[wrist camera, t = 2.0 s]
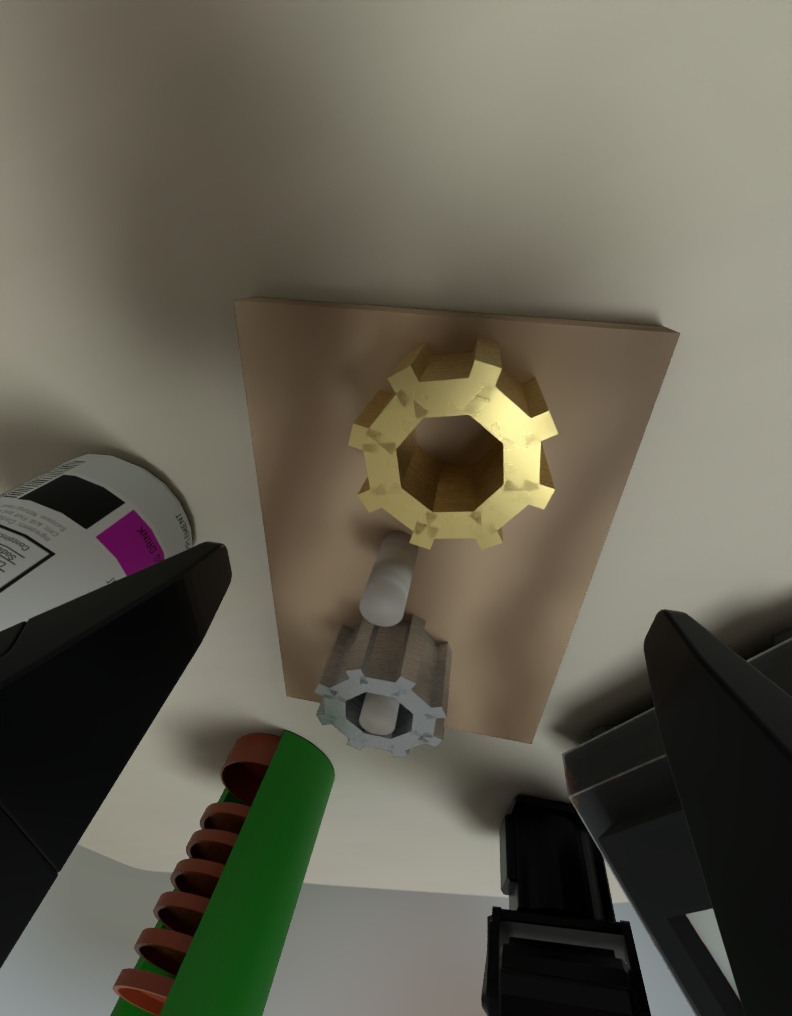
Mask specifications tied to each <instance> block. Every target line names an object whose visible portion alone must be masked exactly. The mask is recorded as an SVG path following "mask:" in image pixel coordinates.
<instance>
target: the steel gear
mask: <svg viewBox="0 0 792 1016" xmlns="http://www.w3.org/2000/svg"><path fill="white" fill-rule="evenodd" d="M425 625H426V620H424V619H422V618H420V617H418V616H416V615H414V614H413V615H412V616H411V618H410V619H409V620H404V619H402V620H401V621H400V622H399V623H397V624H395V625H393V626H388V627H383V626H378V625H375V624H372V623H370V622H369V621H367V620H366V619H365V618H364V617H363V620H362V622H361V623H359V624H357V625H355V626H354V627H352V628H350V627H348V626H346V625H344V624H342V626H341V628H340V629H339V631H338V633H337V635H336V638H335V640H334V643H333V646H332V648H331V651H330V653H329V656H328V658H327V661H326V664H325V666H324V669H323V671H322V674H321V676H320V679H319V681H318V684H317V687H316V689H315V693H317V694H319V695H321V696H323V698H322V700H321V703H320V706H319V709H318V711H317V714H316V716H317V717H318V719H319V720H320V722H321V723H322V725H325V724H332V725H333V726H334V727H336V728H337V729H338V730H339V731H341V732H342V733H343V734H344V735H346V736H347V737H348V742H347V744H348V745H350V746H353V747H355V748H357V749H359V750H361V748H362V747H363V746H369V747H374V748H379V749H383V750H388V751H391V752H392V754H393V756H394V757H408V754H409V749H411V748H414V747H416V746H419V745H422V744H425V743H427V744H429V745H431V746H433V747H436V746H437V745H438V744H439V743H440V742H441V741H442V740H443V731H444V720H445V718H447V708H448V696H449V684H450V672H451V660H452V650H451V648H450V645H449V643H448V642H442V643H438V642H437V641H436V640H435V639H434V638H433V637H432V636H431V635H430V634H429V633H428V632H427V631H426V630H425ZM366 692H368V693H373V694H378V695H384V696H389V697H394V698H395V699H396V700H397V701H399V702H400V704H399V709H398V714H397V719H396V725H395V729H394V731H393V732H392V733H390V734H387V735H377V734H373V733H370V732H368V731H367V730H365V729H364V728H363V727H362V726H361V725H360V723H359V718H360V714H361V711H362V707H363V703H364V699H365V696H366Z"/></svg>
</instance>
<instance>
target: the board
mask: <svg viewBox="0 0 792 1016" xmlns="http://www.w3.org/2000/svg"><path fill="white" fill-rule="evenodd" d="M234 308H235V315H236V323H237V330H238V338H239V345H240V352H241V360H242V367H243V375H244V382H245V390H246V397H247V405H248V412H249V419H250V427H251V434H252V442H253V449H254V457H255V464H256V472H257V479H258V486H259V494H260V501H261V509H262V516H263V524H264V531H265V539H266V546H267V553H268V561H269V568H270V576H271V583H272V591H273V598H274V606H275V613H276V620H277V628H278V635H279V643H280V650H281V658H282V665H283V673H284V680H285V687H286V695H287V696H288V697H293V698H298V699H304V700H309V701H314V702H319V703H321V700H322V698H323V696H321V695H319V694H317V693H315V689H316V687H317V684H318V681H319V679H320V676H321V674H322V671H323V669H324V666H325V664H326V661H327V658H328V656H329V653H330V651H331V648H332V646H333V643H334V640H335V638H336V635H337V633H338V631H339V629H340V628H341V626H342V624H344V625H346V626H348V627H350V628H352V627H354V626H355V625H357V624H359V623H361V622H362V620H363V617H364V618H365V619H366V620H367V621H369V622H370V623H372V624H375V625H378V626H383V627H388V626H393V625H395V624H397V623H399V622H400V621H401V620H402V619H404V620H409V619H410V618H411V616H412V615H413V614H414V615H416V616H418V617H420V618H422V619H424V620H426V625H425V630H426V631H427V632H428V633H429V634H430V635H431V636H432V637H433V638H434V639H435V640H436V641H437V642H438V643H442V642H448V643H449V645H450V648H451V650H452V660H451V672H450V684H449V696H448V708H447V718H445V720H444V727H447V728H452V729H457V730H462V731H467V732H472V733H477V734H482V735H488V736H493V737H498V738H503V739H508V740H513V741H518V742H523V743H529V744H532V741H533V738H534V735H535V733H536V730H537V727H538V724H539V722H540V719H541V716H542V713H543V711H544V708H545V705H546V702H547V700H548V697H549V694H550V691H551V688H552V686H553V683H554V680H555V677H556V675H557V672H558V669H559V666H560V664H561V661H562V658H563V655H564V653H565V650H566V647H567V644H568V642H569V639H570V636H571V633H572V631H573V628H574V625H575V622H576V620H577V617H578V614H579V611H580V608H581V606H582V603H583V600H584V597H585V595H586V592H587V589H588V586H589V584H590V581H591V578H592V575H593V573H594V570H595V567H596V564H597V562H598V559H599V556H600V553H601V551H602V548H603V545H604V542H605V539H606V537H607V534H608V531H609V528H610V526H611V523H612V520H613V517H614V515H615V512H616V509H617V506H618V504H619V501H620V498H621V495H622V493H623V490H624V487H625V484H626V482H627V479H628V476H629V473H630V471H631V468H632V465H633V462H634V459H635V457H636V454H637V451H638V448H639V446H640V443H641V440H642V437H643V435H644V432H645V429H646V426H647V424H648V421H649V418H650V415H651V413H652V410H653V407H654V404H655V402H656V399H657V396H658V393H659V391H660V388H661V385H662V382H663V379H664V377H665V374H666V371H667V368H668V366H669V363H670V360H671V357H672V355H673V352H674V349H675V346H676V344H677V341H678V338H679V335H680V333H678V332H676V331H673V330H671V329H669V328H666V327H664V326H651V325H637V324H624V323H610V322H596V321H582V320H568V319H554V318H540V317H526V316H512V315H498V314H484V313H470V312H456V311H442V310H429V309H415V308H401V307H387V306H373V305H359V304H345V303H331V302H317V301H303V300H289V299H275V298H261V297H249V298H244V299H239V300H234ZM477 336H478V337H481V338H484V339H487V340H490V341H493V342H496V343H499V350H500V357H501V364H502V366H503V367H504V368H505V369H506V370H507V371H508V372H509V373H510V374H511V375H513V376H514V377H515V378H516V379H517V380H518V381H519V382H520V383H521V384H522V383H524V382H526V381H528V380H530V379H532V378H534V377H536V379H537V382H538V384H539V387H540V389H541V391H542V394H543V396H544V399H545V401H546V404H547V406H548V409H549V411H550V414H551V416H552V419H553V421H554V424H555V426H556V429H557V431H558V434H557V435H555V436H552V437H550V438H548V439H545V440H543V441H541V443H542V446H543V449H544V453H545V456H546V460H547V463H548V466H549V470H550V473H551V477H552V480H553V484H554V487H555V491H554V492H553V494H552V496H551V498H550V500H549V502H548V503H547V505H546V507H545V509H541V508H538V507H535V506H532V505H527V506H526V507H525V508H524V509H523V510H521V511H520V512H519V513H518V514H517V515H515V516H514V517H513V518H512V519H511V520H509V521H508V522H507V523H506V524H505V525H503V526H502V532H503V543H501V544H498V545H495V546H492V547H489V548H486V549H483V550H482V549H481V547H480V546H479V544H478V542H477V540H476V538H457V539H434V541H433V544H432V546H431V549H430V550H429V549H426V548H423V547H420V546H417V545H414V544H411V543H409V542H410V539H411V535H412V530H411V529H409V528H408V527H407V526H405V525H404V524H403V523H401V522H400V521H399V520H397V519H396V518H395V517H393V516H392V515H391V514H390V513H388V512H387V511H386V510H384V509H383V508H380V509H377V510H375V511H372V512H370V513H369V512H368V510H367V509H366V507H365V506H364V504H363V502H362V501H361V499H360V498H359V496H358V493H359V491H360V489H361V487H362V486H363V484H364V482H365V480H366V478H367V476H368V474H367V468H366V462H365V457H364V451H363V450H361V449H358V448H355V447H351V446H348V443H349V439H350V435H351V430H352V426H353V423H354V421H355V420H356V419H357V418H358V416H359V415H360V414H361V412H362V411H363V410H364V409H365V407H366V406H367V405H368V403H369V402H370V401H371V400H372V398H373V397H374V396H375V394H376V393H377V392H378V391H379V390H381V391H384V392H388V393H391V394H392V393H393V392H394V390H393V388H392V386H391V384H390V382H389V381H388V379H387V378H388V377H389V376H390V374H391V373H392V372H393V371H394V369H395V368H396V367H397V365H398V364H399V363H400V362H401V360H402V359H403V358H404V356H405V355H406V354H407V353H408V352H409V351H411V350H413V349H414V348H416V347H418V346H420V345H422V344H423V343H425V342H427V344H428V346H429V348H430V350H431V352H432V354H433V355H438V354H448V353H459V352H469V351H473V348H474V345H475V342H476V339H477ZM415 430H416V439H417V444H418V445H419V446H420V447H422V448H423V449H424V450H425V451H426V452H428V453H429V454H430V455H431V456H433V457H434V458H435V459H436V460H438V461H439V462H440V463H441V464H465V463H477V462H478V461H479V460H480V459H481V458H482V457H483V456H484V455H485V454H486V453H487V452H488V451H489V450H490V449H491V448H492V447H493V446H494V445H495V444H496V443H497V442H498V441H499V440H498V439H497V438H496V437H495V436H494V435H492V434H491V433H490V432H489V431H488V430H487V429H485V428H484V427H483V426H482V425H481V424H480V423H478V422H477V421H476V420H475V419H474V418H473V417H471V416H470V415H459V416H444V417H428V418H423V419H422V420H421V421H420V422H419V423H418V425H417V426H416V427H415ZM399 704H400V702H399V701H397V700H396V699H395V698H394V697H389V696H384V695H378V694H373V693H368V692H366V696H365V699H364V703H363V707H362V711H361V714H360V718H359V723H360V725H361V726H362V727H363V728H364V729H365V730H367V731H368V732H370V733H373V734H377V735H387V734H390V733H392V732H393V731H394V729H395V725H396V719H397V714H398V709H399Z"/></svg>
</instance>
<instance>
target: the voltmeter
mask: <svg viewBox="0 0 792 1016" xmlns="http://www.w3.org/2000/svg"><path fill="white" fill-rule="evenodd" d="M746 661H747V662H748V663H749V664H751V665H752V666H753V667H754V668H756V669H757V670H758V671H759V672H761V673H762V674H763V675H764V676H766V677H767V678H768V679H770V680H771V681H772V682H773V683H775V684H776V685H777V686H778V687H780V688H781V689H782V690H783V691H785V692H786V693H787V694H788V695H790V696H791V697H792V628H788V629H787V630H785V631H783V632H781V633H779V634H777V635H776V636H774V637H773V647H772V648H770V649H768V650H766V651H764V652H762V653H760V654H758V655H756V656H754V657H752V658H750V659H748V660H746ZM562 757H563V763H564V770H565V777H566V783H567V790H568V797H569V799H570V800H571V802H572V804H573V806H574V807H575V809H576V811H577V812H578V814H579V816H580V818H581V819H582V821H583V823H584V825H585V826H586V828H587V830H588V831H589V833H590V835H591V837H592V838H593V840H594V842H595V843H596V845H597V847H598V849H599V850H600V852H601V854H602V856H603V857H604V859H605V861H606V862H607V864H608V866H609V868H610V869H611V871H612V873H613V875H614V876H615V878H616V880H617V881H618V883H619V885H620V887H621V888H622V890H623V892H624V893H625V895H626V897H627V899H628V900H629V902H630V904H631V905H632V907H633V909H634V911H635V912H636V914H637V916H638V918H639V919H640V921H641V923H642V924H643V926H644V928H645V930H646V931H647V933H648V935H649V937H650V938H651V940H652V941H653V943H654V945H655V947H656V949H657V950H658V952H659V954H660V956H661V957H662V959H663V961H664V962H665V964H666V966H667V968H668V969H669V971H670V973H671V975H672V976H673V978H674V979H675V981H676V983H677V985H678V987H679V988H680V990H681V992H682V993H683V995H684V997H685V999H686V1000H687V1002H688V1004H689V1006H690V1007H691V1009H692V1011H693V1012H694V1014H695V1016H745V1014H744V1011H743V1007H742V1004H741V1001H740V997H739V994H738V991H737V987H736V984H735V981H734V977H733V974H732V971H731V968H730V964H729V961H728V958H727V954H726V951H725V948H724V944H723V941H722V938H721V934H720V931H719V928H718V924H717V921H716V918H715V914H714V911H713V908H712V904H711V901H710V898H709V894H708V891H707V888H706V884H705V881H704V878H703V875H702V871H701V868H700V865H699V861H698V858H697V855H696V851H695V848H694V845H693V841H692V838H691V835H690V831H689V828H688V825H687V821H686V818H685V815H684V811H683V808H682V805H681V801H680V798H679V795H678V791H677V788H676V785H675V782H674V778H673V775H672V772H671V768H670V765H669V762H668V758H667V755H666V752H665V748H664V745H663V742H662V738H661V735H660V731H659V727H658V723H657V719H656V714H655V708H654V707H653V708H651V709H650V710H648V711H646V712H644V713H642V714H640V715H638V716H636V717H634V718H632V719H630V720H628V721H626V722H624V723H622V724H620V725H618V726H616V727H615V726H607V725H602V726H600V727H598V728H596V729H594V730H592V739H591V740H589V741H587V742H585V743H583V744H581V745H579V746H577V747H575V748H573V749H571V750H569V751H567V752H565V753H563V754H562Z"/></svg>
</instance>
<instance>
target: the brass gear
mask: <svg viewBox="0 0 792 1016" xmlns="http://www.w3.org/2000/svg"><path fill="white" fill-rule="evenodd" d="M387 379H388V381H389V382H390V384H391V386H392V388H393V390H394V392H393V393H392V394H391V393H388V392H384V391H381V390H379V391H378V392H377V393H376V394H375V396H374V397H373V398H372V400H371V401H370V402H369V403H368V405H367V406H366V407H365V409H364V410H363V411H362V412H361V414H360V415H359V416H358V418H357V419H356V420H355V421H354V423H353V426H352V430H351V435H350V439H349V443H348V446H351V447H355V448H358V449H361V450H363V451H364V457H365V462H366V468H367V474H368V476H367V478H366V480H365V482H364V484H363V486H362V487H361V489H360V491H359V493H358V496H359V498H360V499H361V501H362V502H363V504H364V506H365V507H366V509H367V510H368V512H369V513H370V512H372V511H375V510H377V509H380V508H383V509H384V510H386V511H387V512H388V513H390V514H391V515H392V516H393V517H395V518H396V519H397V520H399V521H400V522H401V523H403V524H404V525H405V526H407V527H408V528H409V529H411V530H412V535H411V539H410V542H409V543H411V544H414V545H417V546H420V547H423V548H426V549H429V550H430V549H431V546H432V544H433V541H434V539H457V538H476V540H477V542H478V544H479V546H480V547H481V549H482V550H483V549H486V548H489V547H492V546H495V545H498V544H501V543H503V532H502V526H503V525H505V524H506V523H507V522H508V521H509V520H511V519H512V518H513V517H514V516H515V515H517V514H518V513H519V512H520V511H521V510H523V509H524V508H525V507H526V506H527V505H532V506H535V507H538V508H541V509H545V507H546V505H547V503H548V502H549V500H550V498H551V496H552V494H553V492H554V491H555V487H554V484H553V480H552V477H551V473H550V470H549V466H548V463H547V460H546V456H545V453H544V449H543V446H542V443H541V441H543V440H545V439H548V438H550V437H552V436H555V435H557V434H558V431H557V429H556V426H555V424H554V421H553V419H552V416H551V414H550V411H549V409H548V406H547V404H546V401H545V399H544V396H543V394H542V391H541V389H540V387H539V384H538V382H537V379H536V377H534V378H532V379H530V380H528V381H526V382H524V383H522V384H521V383H520V382H519V381H518V380H517V379H516V378H515V377H514V376H513V375H511V374H510V373H509V372H508V371H507V370H506V369H505V368H504V367H503V366H502V364H501V357H500V350H499V343H496V342H493V341H490V340H487V339H484V338H481V337H478V336H477V339H476V342H475V345H474V348H473V351H469V352H459V353H448V354H438V355H433V354H432V352H431V350H430V348H429V346H428V344H427V342H425V343H423V344H422V345H420V346H418V347H416V348H414V349H413V350H411V351H409V352H408V353H407V354H406V355H405V356H404V358H403V359H402V360H401V362H400V363H399V364H398V365H397V367H396V368H395V369H394V371H393V372H392V373H391V374H390V376H389V377H388V378H387ZM459 415H470V416H471V417H473V418H474V419H475V420H476V421H477V422H478V423H480V424H481V425H482V426H483V427H484V428H485V429H487V430H488V431H489V432H490V433H491V434H492V435H494V436H495V437H496V438H497V439H498V440H499V441H498V442H497V443H496V444H495V445H494V446H493V447H492V448H491V449H490V450H489V451H488V452H487V453H486V454H485V455H484V456H483V457H482V458H481V459H480V460H479V461H478V462H477V463H465V464H441V463H440V462H439V461H438V460H436V459H435V458H434V457H433V456H431V455H430V454H429V453H428V452H426V451H425V450H424V449H423V448H422V447H420V446H419V445H418V444H417V439H416V430H415V427H416V426H417V425H418V423H419V422H420V421H421V420H422V419H423V418H428V417H444V416H459Z"/></svg>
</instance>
